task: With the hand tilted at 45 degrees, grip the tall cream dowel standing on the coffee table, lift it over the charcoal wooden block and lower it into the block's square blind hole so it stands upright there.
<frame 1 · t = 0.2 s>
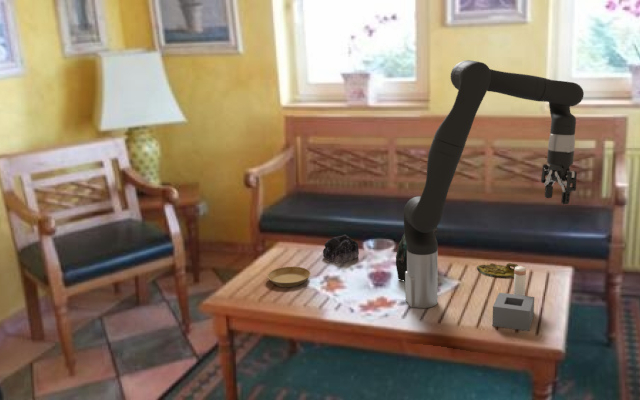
hand: (556, 200, 205), 28 cm above the table, tool pointing down, fingers open, 8 cm apart
dowel: (518, 305, 200), on the table
hole block: (513, 320, 191), on the table
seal: (498, 273, 226), on the table
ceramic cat: (418, 273, 229), on the table
crystal cluster: (341, 257, 247), on the table
plant saucer: (289, 281, 228), on the table
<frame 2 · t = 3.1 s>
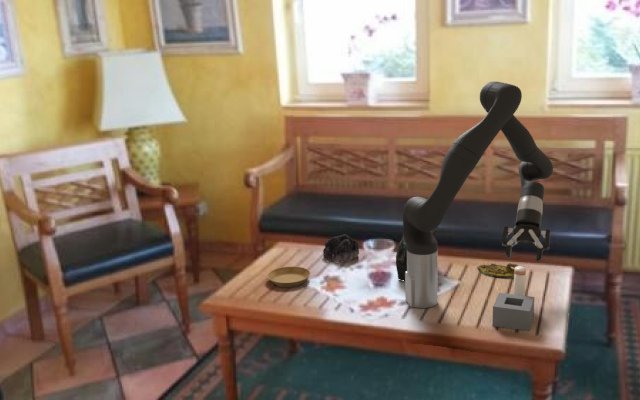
hand: (523, 259, 203), 12 cm above the table, tool tilted 45°, fingers open, 8 cm apart
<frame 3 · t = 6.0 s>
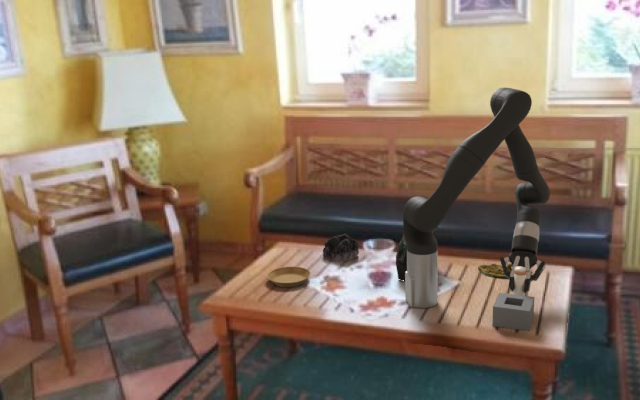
hand: (518, 291, 197), 5 cm above the table, tool tilted 45°, fingers closed on dowel, 3 cm apart
dowel: (518, 305, 200), on the table, touching gripper
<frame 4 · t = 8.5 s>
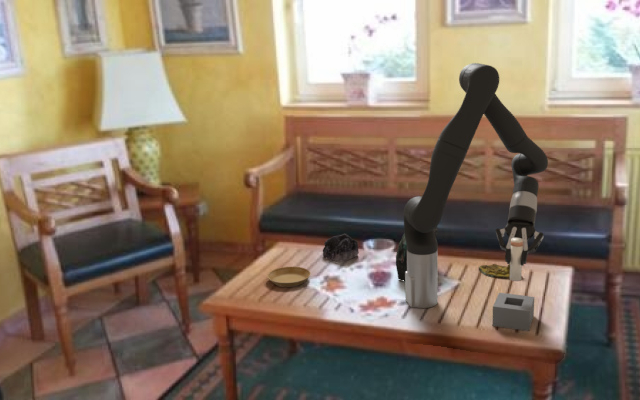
hand: (515, 263, 187), 17 cm above the table, tool tilted 45°, fingers closed on dowel, 3 cm apart
dowel: (515, 278, 190), point 12 cm above the table, touching gripper
when the fingers open (9 cm above the table, at t = 11.1 s): dowel drops 2 cm, resting on hole block.
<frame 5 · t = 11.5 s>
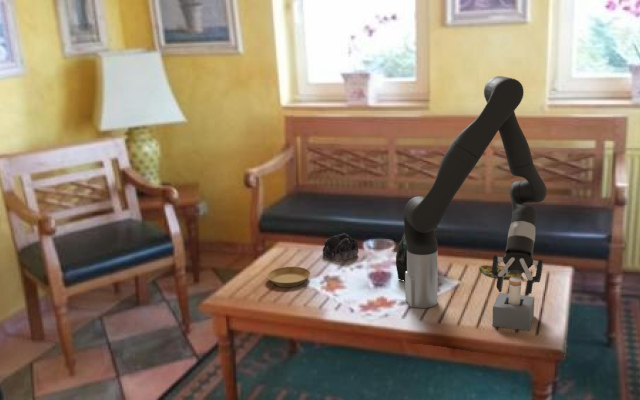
hand: (513, 292, 187), 9 cm above the table, tool tilted 45°, fingers open, 7 cm apart
dowel: (513, 317, 191), point 1 cm above the table, touching hole block
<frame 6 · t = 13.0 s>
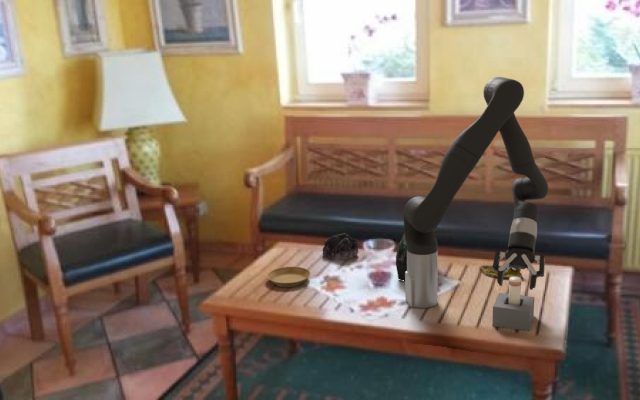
hand: (515, 286, 190), 10 cm above the table, tool tilted 45°, fingers open, 8 cm apart
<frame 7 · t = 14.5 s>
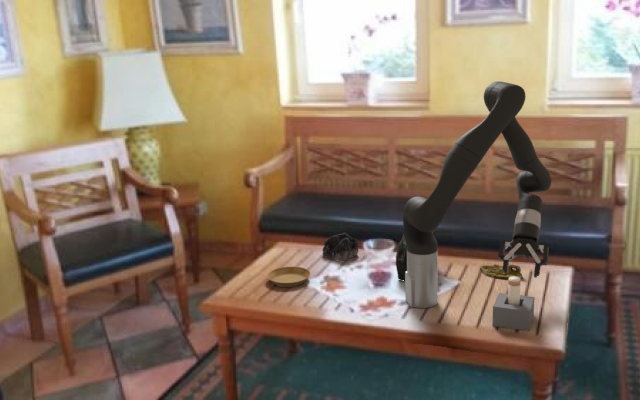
hand: (520, 274, 198), 10 cm above the table, tool tilted 45°, fingers open, 8 cm apart
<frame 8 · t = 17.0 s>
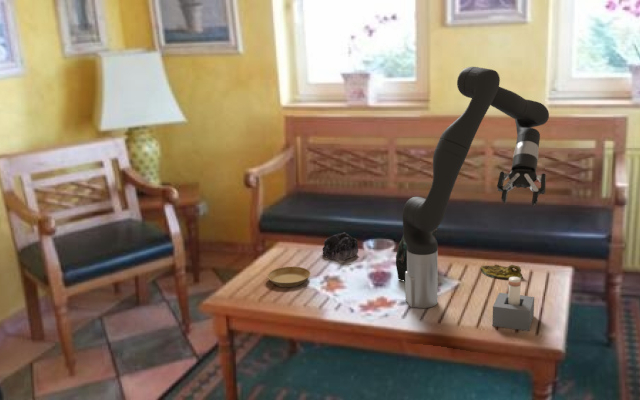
hand: (518, 203, 204), 29 cm above the table, tool tilted 45°, fingers open, 8 cm apart
at the end: dowel 0.0 cm off-centre on the hole block, point 1.0 cm above the hole block's base; dowel tilted 1°; the gripper is holding nothing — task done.
